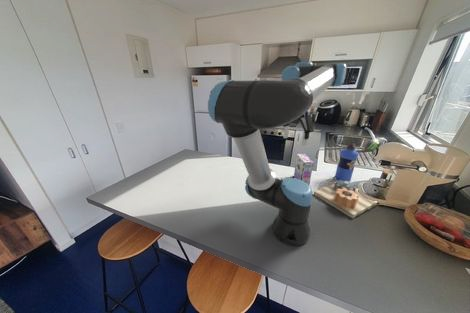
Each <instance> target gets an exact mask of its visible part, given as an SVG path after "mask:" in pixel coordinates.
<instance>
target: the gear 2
mask: <svg viewBox="0 0 470 313" xmlns="http://www.w3.org/2000/svg"><path fill="white" fill-rule="evenodd" d="M345 191H349V192H350V196H346V195H344V193H345ZM358 198H359V196H358V194H355V192H354V191H352V190H347V189H346V188H343V189H337V190H336V192H335V196H334V201H337V204H338V205H340V206H341V205H342V206H345V207H346V208H350V207H353V208H354V207H356V204H357V201H358Z"/></svg>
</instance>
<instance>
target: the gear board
mask: <svg viewBox="0 0 470 313" xmlns="http://www.w3.org/2000/svg"><path fill="white" fill-rule="evenodd" d="M334 186H335V182H334V183H332V184H329V185H326V186H323V187H321V188H319V189H317V190H313V195H314V196H316V197H317V198H318V199H321V200H322V201H324V202H325V203H327V204H329V205H330V206H332V207H334V208H335V209H336V210H338V211H340V212H341V213H342V214H345V215H346V216H348V217H350V218H351V219H354V218H356V217H358V216H359V215H361V214H363V213H364V212H367V211H369V210H370V209H372V208H373V207H375V206H377V205H378V204H377V203H378V202H377V201H372V200H369V199H366V198H364V197H363V196H362V195H361V194H360V193H359V192H358V189H359V188H357V187H356V190H355V194H358V196H359V198H358V201H357V204H356V207H354V208H353V207H350V208H346V207H345V206H342V205H341V206H340V205H338V204H337V201H334V196H335V192H336V191H335V188H334ZM344 195H346V196H350V192H349V191H345V193H344Z"/></svg>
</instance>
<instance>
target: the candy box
mask: <svg viewBox="0 0 470 313" xmlns="http://www.w3.org/2000/svg"><path fill="white" fill-rule="evenodd" d="M294 164H295V166H294V174H293V178H296V179H299V180H302V181H304V182H305V183H307V184H308V185H309V186H310V183H311V178H312V171H313V166H314V161H313V160H312V159H310V157H308V155H307V154H306V153H296V157H295V163H294Z"/></svg>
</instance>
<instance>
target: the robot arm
mask: <svg viewBox="0 0 470 313" xmlns="http://www.w3.org/2000/svg"><path fill="white" fill-rule="evenodd" d="M346 74H347V64H346V63H338V62H337V63H336V62H335V63H328V64H327V63H326V64H325V63H324V64H314V63H313V62H310V61H299V62H296V64H295V65H290V66H287V67H285V68H284V70H283V71H282V73H281V80H272V79H271V80H270V79H264V80H263V79H261V80H260V79H259V80H257V79H256V80H234V79H230V80H225V81H220V82H218V83H217V84H215V85H214V86H213V88H212V89H211V91H210V94H209V99H208V101H207V110H208V114H209V117H210V119H211V120H212V121H214V122H215V123H218V124H221V125H222V126H223V128H224V131H225V133H226V135H227V136H228V137H230V138H231V139H234V143H235V144H236V148H237V150H238V152H239V155H240V157H241V160H242V162H243V164H244V167H245V169H246V171H247V174H248V175H247V177H246V179H245V182H244V183H245V186H244V187H245V188H244V189H245V193H246V194H247V195H248V196H249V197H250V198H252V199H254V200H257V201H259V202H262V203H264V204H267V205H269V206H271V207H274V208H276V209H278V213H277V215H276V217H275V219H273V223H272V233H273V234H274V236H275V237H276V238H277V239H278V240H279V241H281V243H283V244H285V245H289V246H294V247H298V246H299V247H300V246H303V245H305V244H306V243H307V242H308V241H309V240H310V237H311V236H310V235H311V229H310V226H309V215H310V211H311V206H312V203H313V195H314V192H313V189H312V188H311V187H310V184H309V185H308V184H307V183H305V182H304V181H302V180H299V179H296V178H295V177H286V178H284V179H281V178H277V176H276V173H275V171H274V170H273V169H272V168H270V165H269V162H268V161H269V160H268V158H267V154H266V149H265V146H264V142H263V137H262V134H261V131H260V130H270V129H276V128H279V127H282V126H283V138H282V139H288V138H289V134H290V133H289V132H290V124H291V123H292V122H293V121H296V120H298V121H299V122H300V124H301V126H302V128H303V133H302V137H301V138H302V139H301V146H303V147H304V146H307V144H308V140H309V138H310V133H313V132H314V131H315V129H314V125H313V121H312V116H311V115H312V111H311V110H310V108H312V105H313V102H314V101H315V99H317V98H319V96H321V94H323V93H324V92H325V91H326V90H327V89H328V88H330V87H333V88H334V87H341V86H342V85H343V84H344V82H345V78H346Z"/></svg>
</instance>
